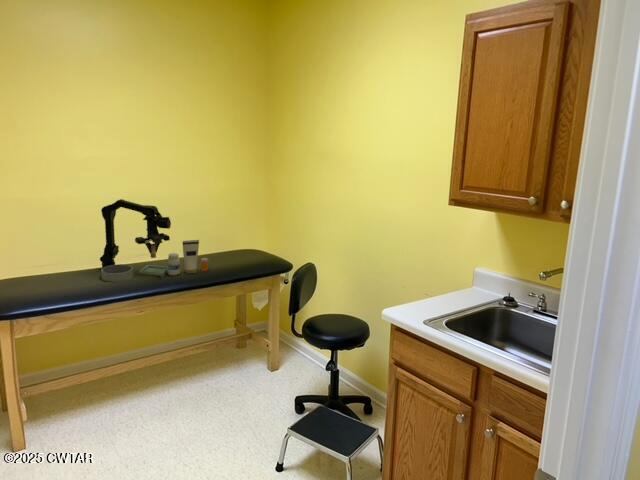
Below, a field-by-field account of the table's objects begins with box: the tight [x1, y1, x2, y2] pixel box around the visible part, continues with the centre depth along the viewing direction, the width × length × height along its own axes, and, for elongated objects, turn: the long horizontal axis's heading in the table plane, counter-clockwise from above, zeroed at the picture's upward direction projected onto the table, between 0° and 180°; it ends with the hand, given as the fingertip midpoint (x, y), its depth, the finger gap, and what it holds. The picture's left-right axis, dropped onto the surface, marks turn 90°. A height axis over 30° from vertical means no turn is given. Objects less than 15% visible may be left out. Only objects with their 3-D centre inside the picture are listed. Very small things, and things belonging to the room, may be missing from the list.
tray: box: [138, 264, 168, 277], centre depth 272 cm, size 14×12×2 cm
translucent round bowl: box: [100, 263, 134, 283], centre depth 259 cm, size 17×17×6 cm
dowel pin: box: [150, 243, 157, 259], centre depth 268 cm, size 3×3×8 cm
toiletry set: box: [166, 239, 209, 276], centre depth 275 cm, size 25×8×20 cm, turn 120°
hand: (153, 252), depth 269 cm, fingers closed on dowel pin, 3 cm apart
